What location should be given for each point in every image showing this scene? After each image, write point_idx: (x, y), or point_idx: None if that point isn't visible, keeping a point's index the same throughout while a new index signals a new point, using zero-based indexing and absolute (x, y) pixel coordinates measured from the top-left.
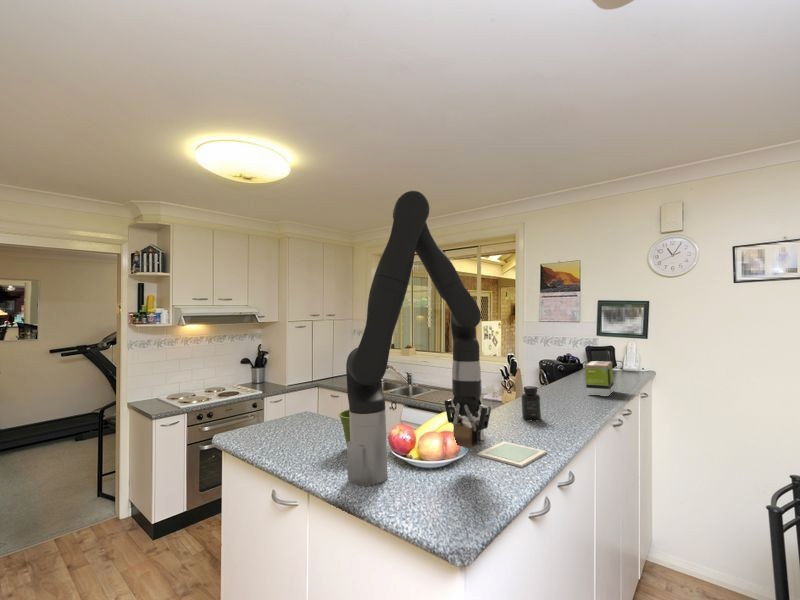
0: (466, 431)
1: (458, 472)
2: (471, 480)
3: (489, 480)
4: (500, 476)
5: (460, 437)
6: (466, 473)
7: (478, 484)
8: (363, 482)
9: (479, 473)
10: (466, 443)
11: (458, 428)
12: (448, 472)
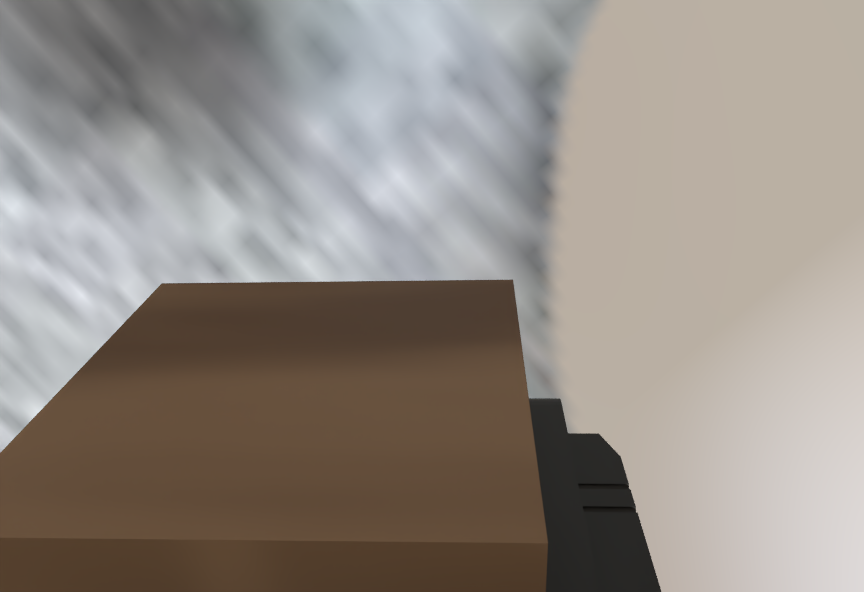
0: (65, 470)
1: (396, 123)
2: (135, 45)
3: (22, 184)
4: (36, 333)
5: (318, 358)
6: (313, 164)
7: (6, 12)
8: None
9: (219, 258)
10: (190, 318)
11: (345, 489)
12: (484, 37)
